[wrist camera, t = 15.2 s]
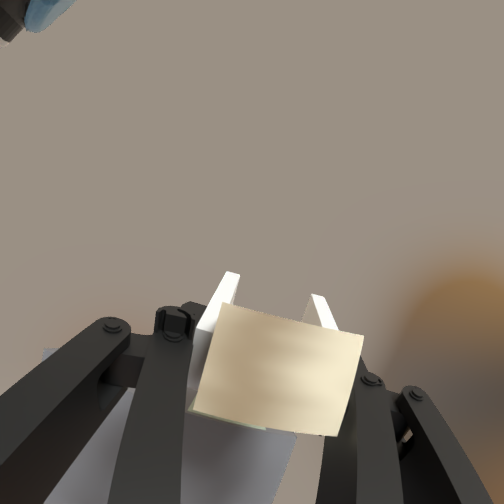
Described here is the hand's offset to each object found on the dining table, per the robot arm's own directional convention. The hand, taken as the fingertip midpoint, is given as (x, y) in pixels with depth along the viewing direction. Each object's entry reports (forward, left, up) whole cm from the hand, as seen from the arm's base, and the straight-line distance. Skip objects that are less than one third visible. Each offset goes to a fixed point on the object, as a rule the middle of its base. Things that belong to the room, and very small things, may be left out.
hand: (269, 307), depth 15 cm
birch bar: (0, +4, -4) cm, 6 cm away
